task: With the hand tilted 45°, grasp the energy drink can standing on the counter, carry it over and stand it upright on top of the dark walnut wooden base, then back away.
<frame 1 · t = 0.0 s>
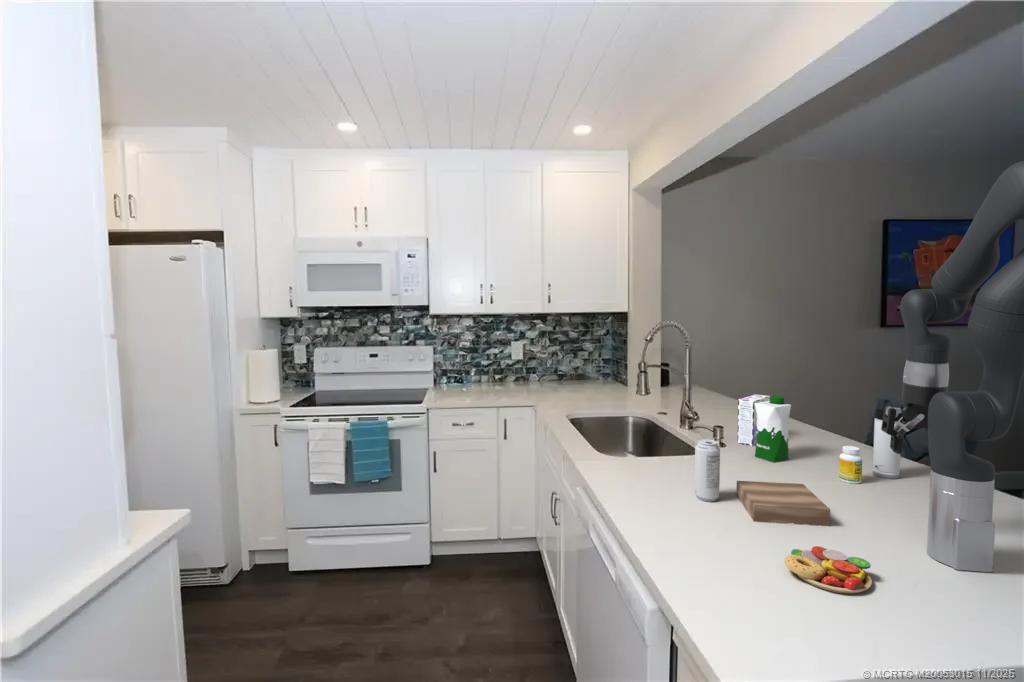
hand: (918, 453, 109), 17 cm above the worktop, tool pointing down, fingers open, 8 cm apart
supplement bottle: (849, 481, 141), on the worktop
travel mug: (885, 476, 144), on the worktop
milk carton: (771, 458, 162), on the worktop
walnut base: (779, 509, 122), on the worktop
toy food set: (827, 577, 93), on the worktop
energy drink can: (706, 498, 130), on the worktop
candy box: (753, 441, 182), on the worktop
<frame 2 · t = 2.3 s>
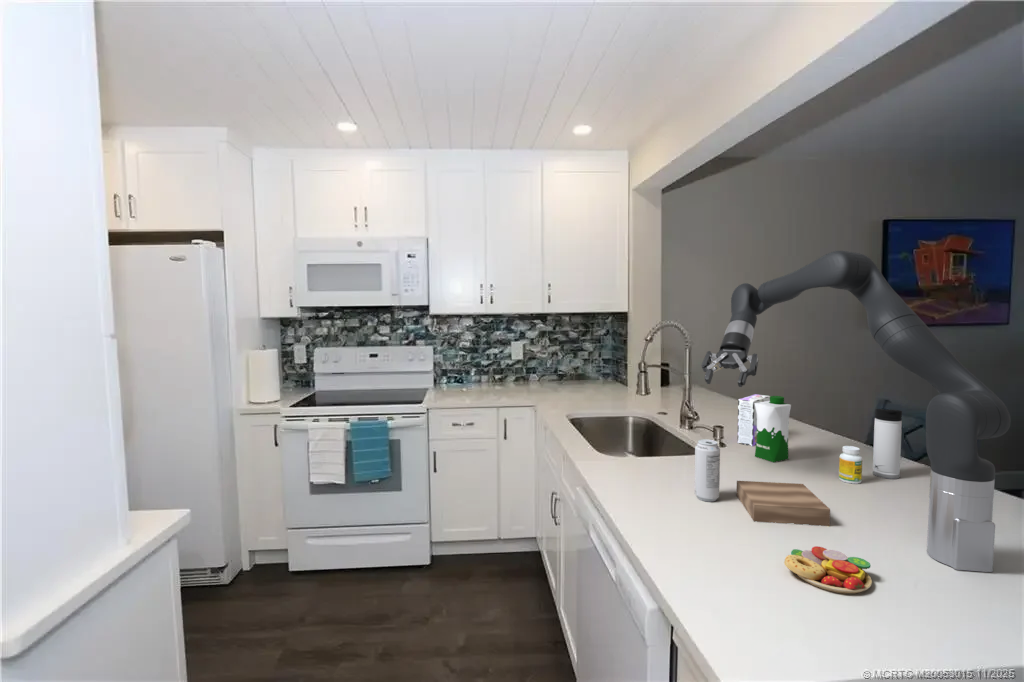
hand: (723, 383, 137), 29 cm above the worktop, tool tilted 45°, fingers open, 8 cm apart
nothing on the worktop moved.
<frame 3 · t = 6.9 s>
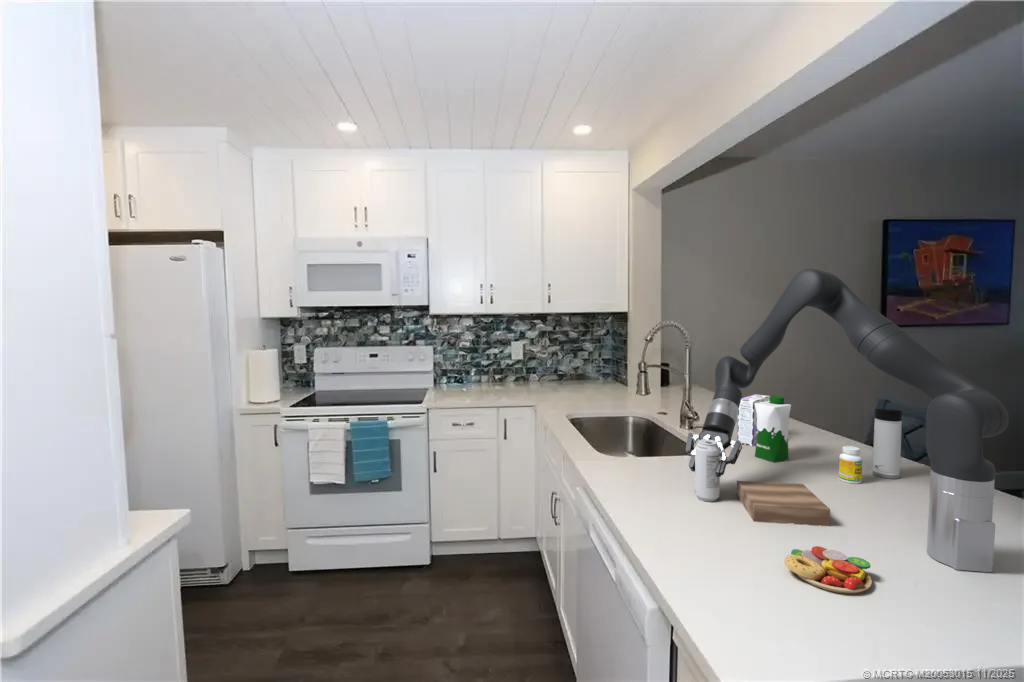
hand: (704, 472, 128), 7 cm above the worktop, tool tilted 45°, fingers closed on energy drink can, 6 cm apart
energy drink can: (706, 498, 130), on the worktop, touching gripper
everything else where it was.
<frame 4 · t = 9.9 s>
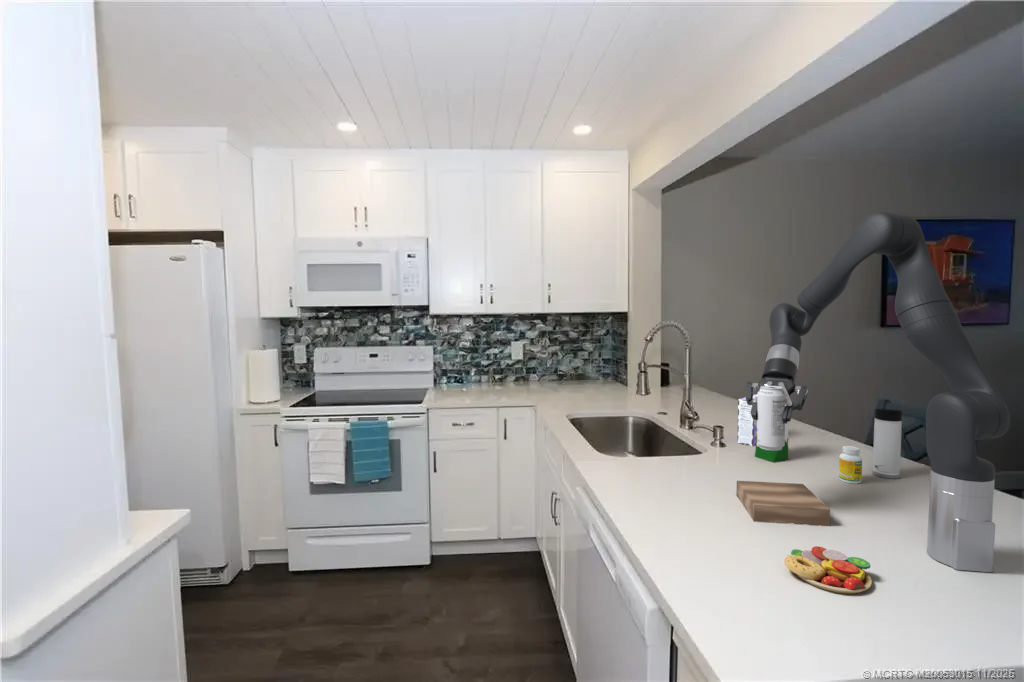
hand: (769, 419, 120), 23 cm above the worktop, tool tilted 45°, fingers closed on energy drink can, 6 cm apart
energy drink can: (770, 448, 121), point 15 cm above the worktop, touching gripper
everything else where it was.
when the fingers open (13 cm above the worktop, at t = 13.1 s): energy drink can drops 1 cm, resting on walnut base.
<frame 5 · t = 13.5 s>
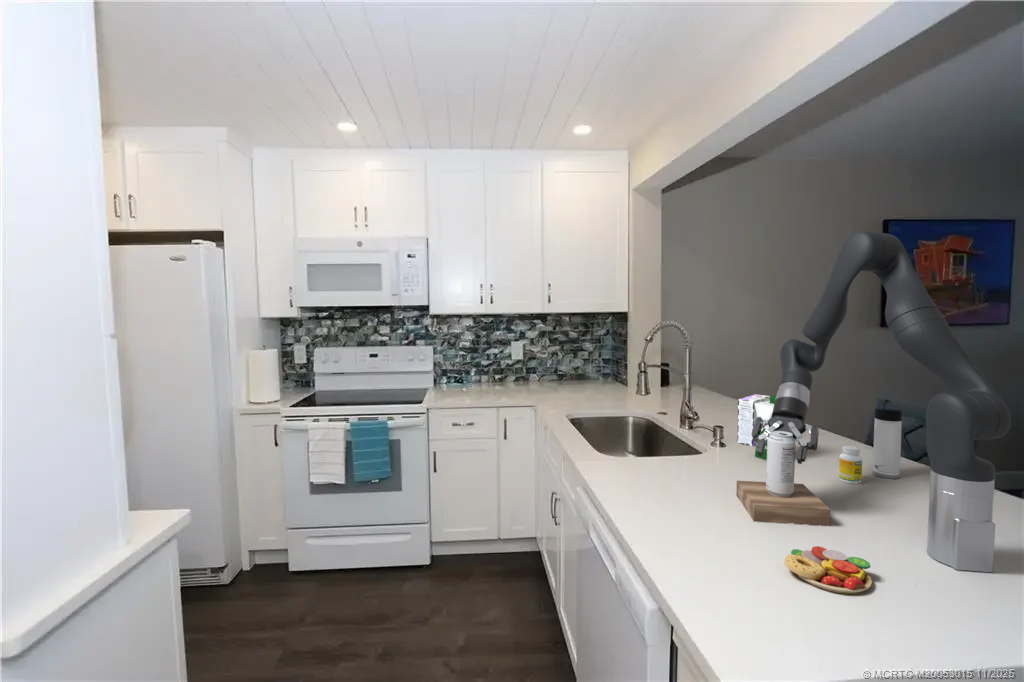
hand: (779, 458, 120), 13 cm above the worktop, tool tilted 45°, fingers open, 8 cm apart
energy drink can: (779, 494, 122), point 4 cm above the worktop, touching walnut base
everything else where it was.
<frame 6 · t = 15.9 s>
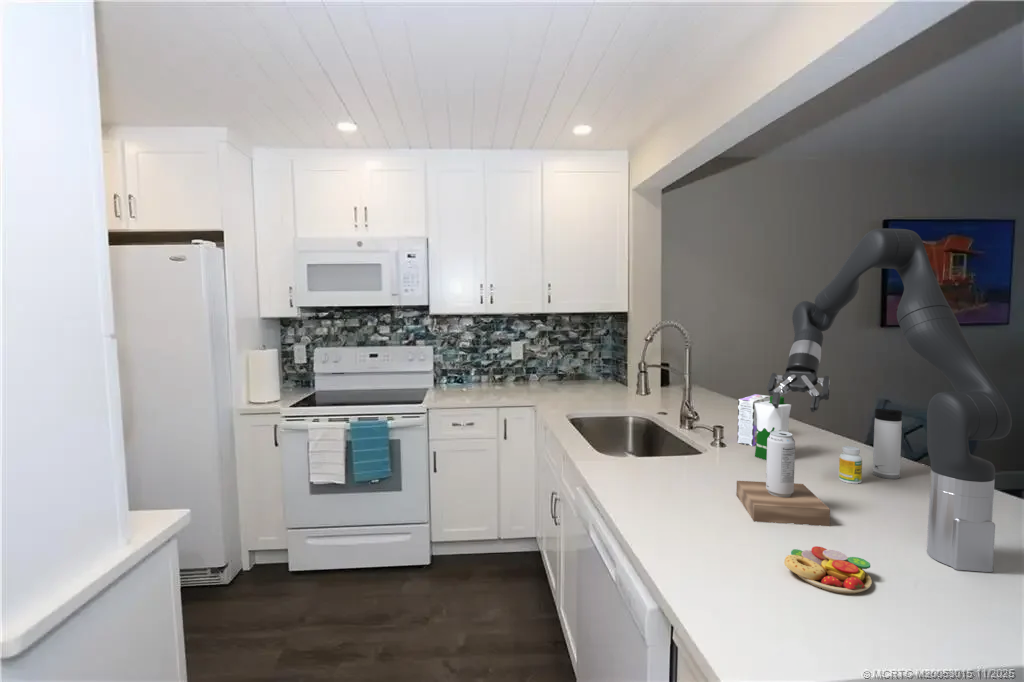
hand: (793, 408, 129), 23 cm above the worktop, tool tilted 45°, fingers open, 8 cm apart
nothing on the worktop moved.
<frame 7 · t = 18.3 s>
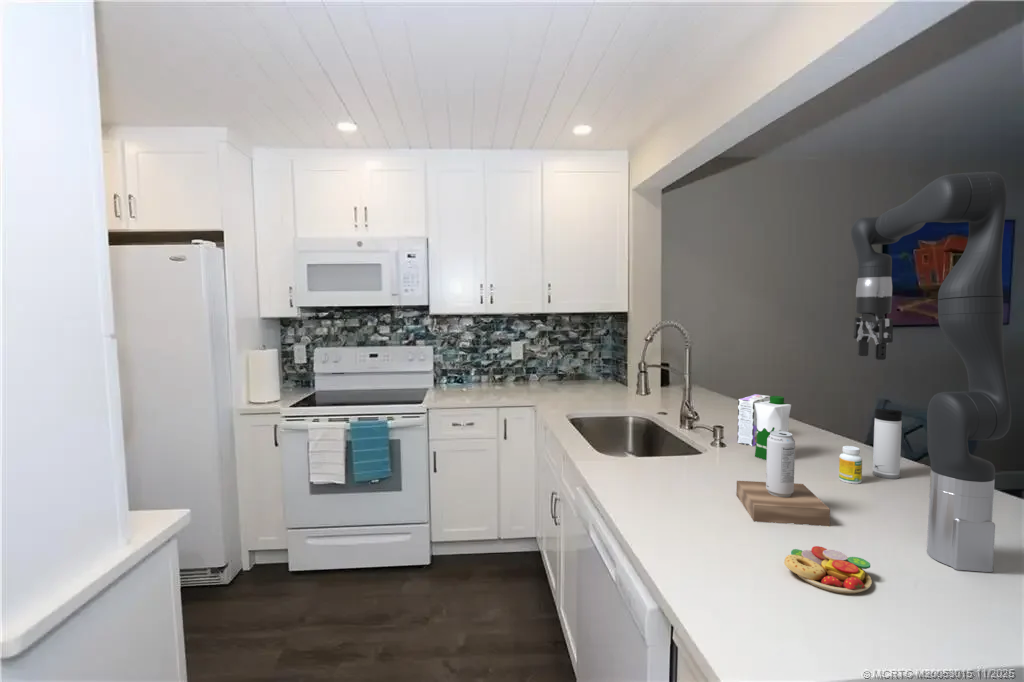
hand: (871, 357, 129), 36 cm above the worktop, tool pointing down, fingers open, 8 cm apart
nothing on the worktop moved.
at the end: energy drink can inside the target area on the walnut base (0.3 cm from its centre), point 3.8 cm above the walnut base's base; energy drink can tilted 0°; the gripper is holding nothing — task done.
